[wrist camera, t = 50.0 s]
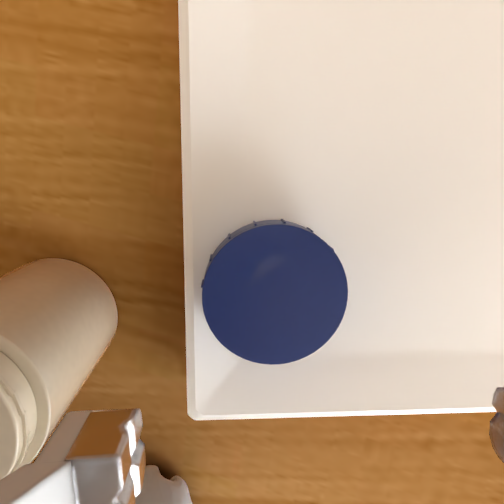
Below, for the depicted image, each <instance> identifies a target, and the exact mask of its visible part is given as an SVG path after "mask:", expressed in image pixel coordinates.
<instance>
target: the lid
mask: <svg viewBox="0 0 504 504" xmlns="http://www.w3.org/2000/svg"><path fill="white" fill-rule="evenodd" d="M201 288H202V306H203V312H204V315H205V318H206V321H207V323H208V326H209V328H210V330H211V331H212V333H213V334H214V336H215V337H216V338H217V340H218V341H219V342H220V343H221V344H222V345H223V346H224V347H225V348H227V349H228V350H229V351H231V352H232V353H234V354H235V355H237V356H239V357H241V358H243V359H245V360H248V361H251V362H255V363H260V364H269V365H275V364H285V363H290V362H294V361H297V360H300V359H302V358H305V357H307V356H309V355H310V354H312V353H314V352H315V351H317V350H318V349H319V348H321V347H322V346H323V345H324V344H325V343H326V342H327V341H328V340H329V339H330V338H331V337H332V336H333V334H334V333H335V332H336V330H337V328H338V327H339V325H340V323H341V321H342V319H343V316H344V313H345V310H346V306H347V300H348V285H347V278H346V274H345V271H344V268H343V266H342V263H341V261H340V260H339V258H338V256H337V255H336V253H335V252H334V249H333V248H332V247H330V246H329V245H328V244H327V243H326V242H325V241H324V240H322V239H321V238H320V237H318V236H317V235H316V234H314V233H313V230H311V229H310V228H308V227H307V228H305V227H303V226H301V225H298V224H296V223H293V222H289V221H285V220H284V219H281V220H264V221H258V222H255V221H253V223H251V224H248V225H246V226H243V227H241V228H239V229H238V230H236V231H234V232H233V233H231V234H230V233H229V234H228V237H226V238H225V239H224V240H223V241H222V242H221V243H220V244H219V246H218V247H217V248H216V250H215V251H214V253H213V255H212V254H211V255H210V259H209V263H208V265H207V268H206V272H205V276H204V279H202V284H201Z"/></svg>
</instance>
